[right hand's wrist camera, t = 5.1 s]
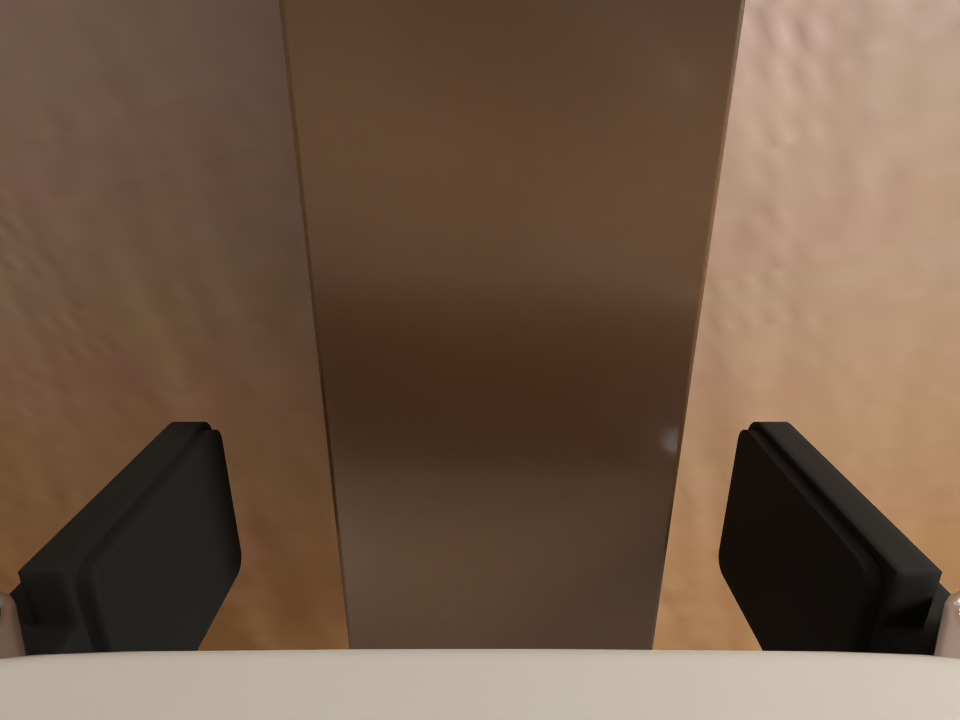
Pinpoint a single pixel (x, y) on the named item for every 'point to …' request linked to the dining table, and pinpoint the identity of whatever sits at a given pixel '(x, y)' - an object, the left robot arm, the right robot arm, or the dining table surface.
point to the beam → (506, 301)
